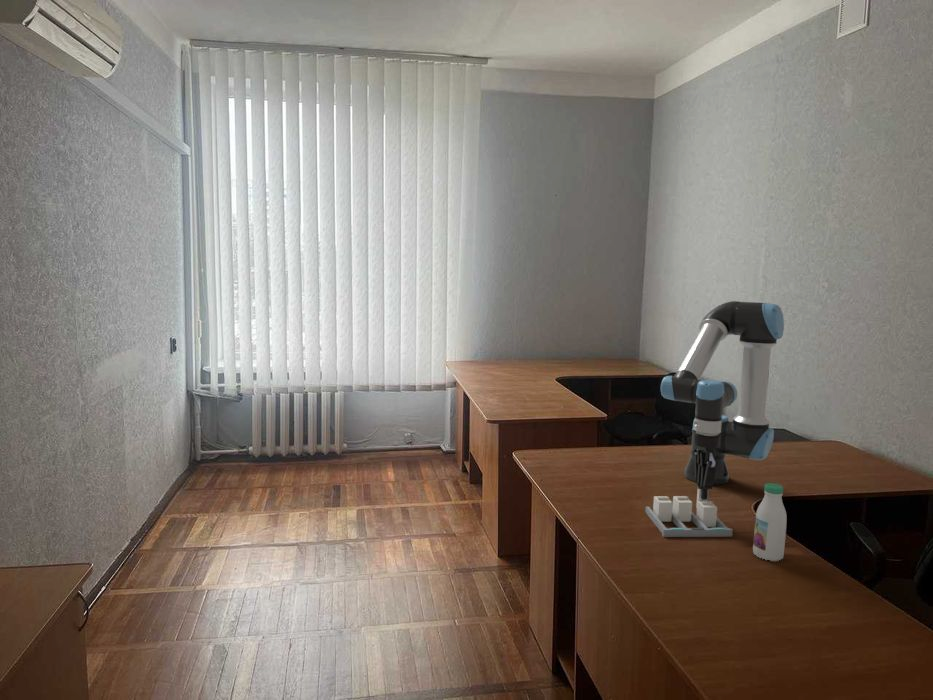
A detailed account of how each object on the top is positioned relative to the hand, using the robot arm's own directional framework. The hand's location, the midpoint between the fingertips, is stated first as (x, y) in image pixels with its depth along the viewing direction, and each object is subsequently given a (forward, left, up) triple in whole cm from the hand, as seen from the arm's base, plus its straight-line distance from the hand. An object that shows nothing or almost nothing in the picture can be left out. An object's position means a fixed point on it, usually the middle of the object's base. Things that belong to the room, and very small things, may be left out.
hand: (701, 508), depth 202 cm
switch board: (+6, +3, -5) cm, 8 cm away
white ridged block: (+6, -1, -4) cm, 7 cm away
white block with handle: (+12, -1, -4) cm, 12 cm away
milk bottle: (-10, +21, -5) cm, 24 cm away
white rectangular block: (0, +3, -4) cm, 5 cm away
